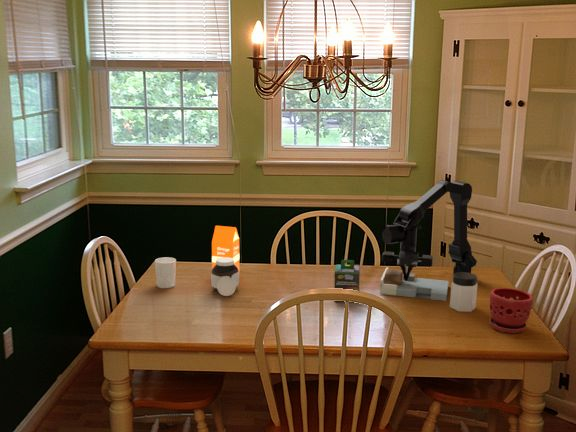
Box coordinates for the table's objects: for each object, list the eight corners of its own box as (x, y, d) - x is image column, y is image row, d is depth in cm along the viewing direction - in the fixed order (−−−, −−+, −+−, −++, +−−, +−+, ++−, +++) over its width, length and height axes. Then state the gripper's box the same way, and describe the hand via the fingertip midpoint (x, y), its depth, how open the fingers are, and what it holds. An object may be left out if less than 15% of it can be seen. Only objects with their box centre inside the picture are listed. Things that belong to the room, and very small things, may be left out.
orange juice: (232, 279, 265) (232, 229, 260) (211, 276, 267) (211, 227, 263) (239, 273, 272) (239, 225, 268) (219, 270, 275) (218, 223, 270)
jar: (480, 310, 236) (483, 277, 233) (461, 313, 233) (464, 280, 230) (463, 302, 244) (465, 270, 241) (445, 305, 241) (447, 273, 238)
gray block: (414, 283, 262) (415, 273, 262) (413, 286, 259) (414, 276, 258) (404, 282, 264) (404, 272, 263) (402, 285, 260) (403, 275, 259)
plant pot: (520, 339, 212) (523, 303, 210) (480, 328, 221) (483, 293, 218) (535, 327, 222) (539, 293, 219) (497, 317, 230) (500, 283, 228)
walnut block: (402, 280, 259) (402, 270, 258) (400, 285, 253) (401, 275, 252) (386, 279, 260) (387, 269, 259) (384, 284, 254) (385, 273, 254)
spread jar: (229, 284, 259) (228, 255, 257) (248, 291, 251) (248, 261, 249) (204, 291, 251) (203, 261, 248) (223, 299, 243) (223, 268, 241)
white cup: (151, 287, 254) (150, 261, 252) (162, 281, 262) (162, 256, 259) (169, 290, 252) (168, 264, 249) (180, 283, 259) (179, 258, 256)
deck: (448, 287, 260) (449, 273, 258) (445, 301, 245) (447, 286, 243) (385, 280, 266) (386, 267, 265) (379, 294, 251) (380, 279, 250)
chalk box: (359, 294, 250) (360, 256, 247) (359, 303, 241) (360, 263, 238) (334, 293, 251) (335, 255, 248) (333, 301, 242) (334, 262, 239)
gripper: (380, 244, 247) (378, 284, 250) (432, 248, 242) (429, 289, 245) (384, 236, 257) (382, 275, 261) (434, 240, 252) (431, 280, 256)
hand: (406, 280), depth 255 cm, fingers closed
